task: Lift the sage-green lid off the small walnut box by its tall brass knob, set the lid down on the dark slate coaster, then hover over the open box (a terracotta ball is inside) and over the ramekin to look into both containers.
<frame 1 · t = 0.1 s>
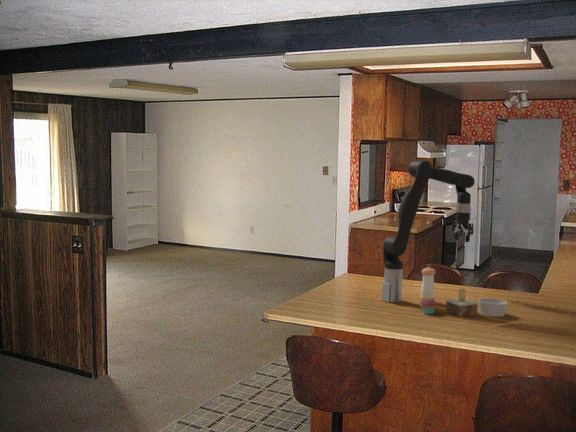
hand: (461, 240, 334), 29 cm above the counter, tool pointing down, fingers open, 8 cm apart
cupcake: (428, 314, 292), on the counter
ramekin: (492, 315, 292), on the counter
lid: (461, 302, 290), point 6 cm above the counter, touching walnut box
ball: (461, 313, 291), point 1 cm above the counter, touching walnut box
walnut box: (461, 314, 291), on the counter
slate coaster: (471, 308, 305), on the counter
pepper shaker: (427, 303, 312), on the counter
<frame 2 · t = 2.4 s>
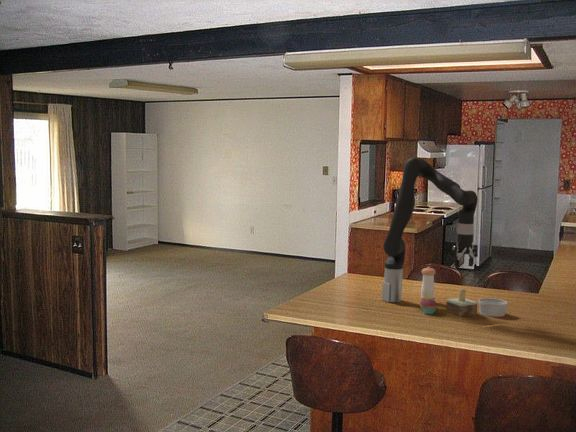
hand: (463, 266, 289), 23 cm above the counter, tool pointing down, fingers open, 8 cm apart
nothing on the counter moved.
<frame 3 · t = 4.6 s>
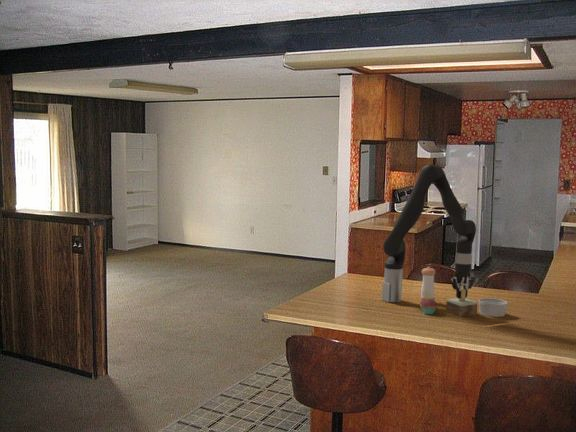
hand: (461, 297, 290), 8 cm above the counter, tool pointing down, fingers closed on lid, 3 cm apart
lid: (461, 302, 290), point 6 cm above the counter, touching gripper, walnut box
everything else where it was.
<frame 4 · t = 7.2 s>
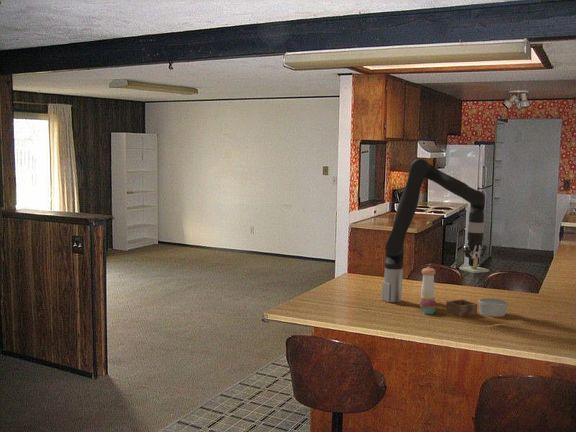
hand: (473, 265, 302), 22 cm above the counter, tool pointing down, fingers closed on lid, 3 cm apart
lid: (473, 270, 302), point 19 cm above the counter, touching gripper
everything else where it was.
when the fingers open (4 cm above the counter, at t = 10.1 s): lid drops 1 cm, resting on slate coaster.
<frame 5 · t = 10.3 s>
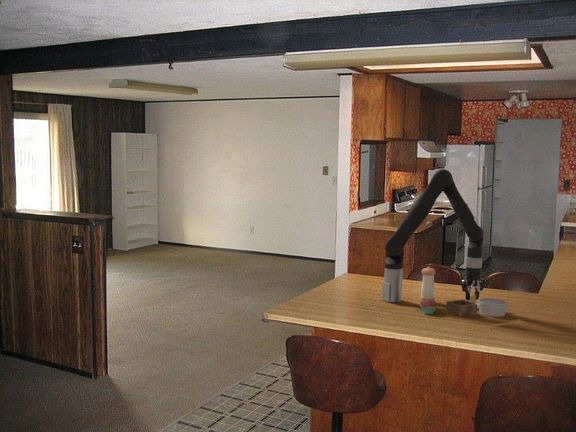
hand: (472, 299, 304), 4 cm above the counter, tool pointing down, fingers open, 5 cm apart
lid: (472, 307, 304), point 1 cm above the counter, touching slate coaster
everything else where it was.
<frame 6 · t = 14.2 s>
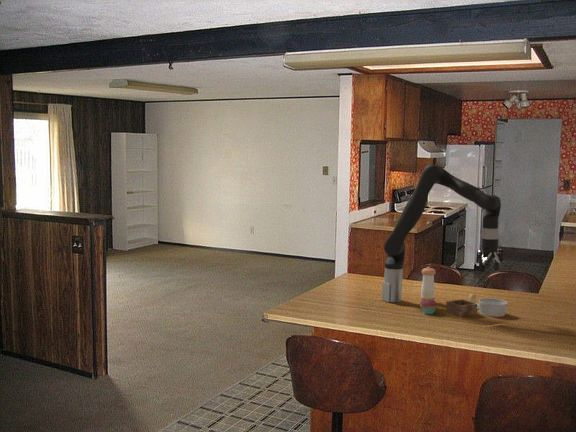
hand: (489, 271, 289), 21 cm above the counter, tool pointing down, fingers open, 8 cm apart
nothing on the counter moved.
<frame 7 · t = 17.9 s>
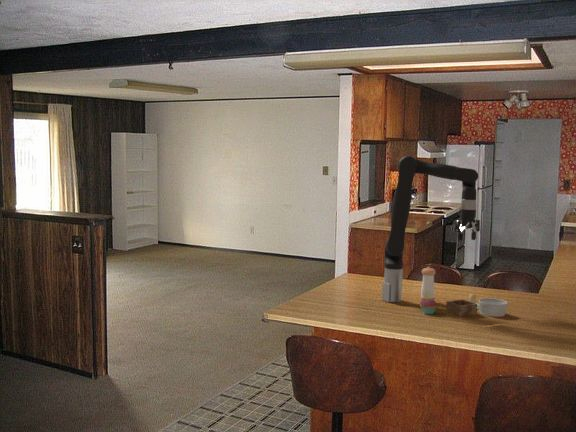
hand: (466, 240, 309), 33 cm above the counter, tool pointing down, fingers open, 8 cm apart
nothing on the counter moved.
at the end: lid inside the target area (0.3 cm from its centre), point 0.6 cm above the counter; lid touching slate coaster; lid tilted 0° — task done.
